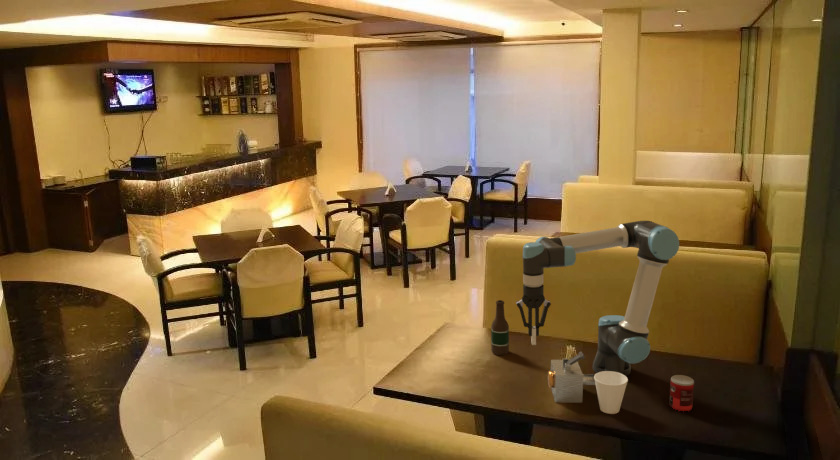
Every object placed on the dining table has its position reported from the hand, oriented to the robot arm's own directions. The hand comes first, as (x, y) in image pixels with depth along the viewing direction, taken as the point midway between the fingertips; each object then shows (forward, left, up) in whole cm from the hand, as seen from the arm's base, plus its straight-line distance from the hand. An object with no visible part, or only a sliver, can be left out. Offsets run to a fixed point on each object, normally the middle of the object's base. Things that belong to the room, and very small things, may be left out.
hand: (533, 343), depth 252 cm
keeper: (-16, 0, -7) cm, 17 cm away
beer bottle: (+10, -40, -21) cm, 46 cm away
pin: (-15, 0, -18) cm, 23 cm away
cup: (-27, +12, -21) cm, 36 cm away
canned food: (-53, +10, -21) cm, 57 cm away
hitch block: (-13, 0, -21) cm, 24 cm away
